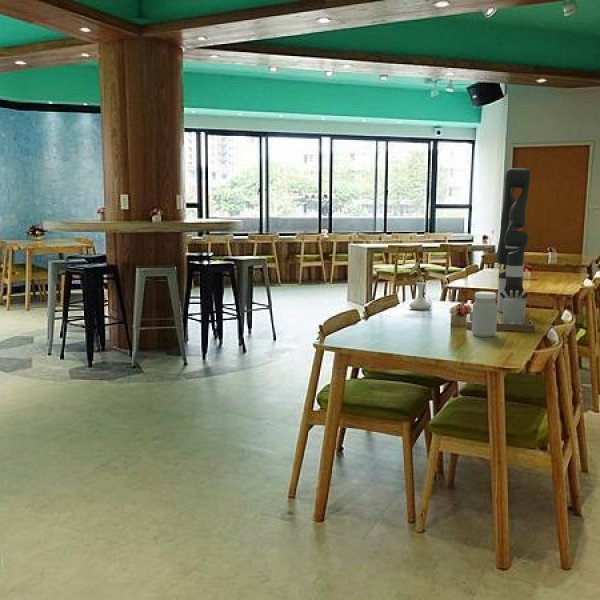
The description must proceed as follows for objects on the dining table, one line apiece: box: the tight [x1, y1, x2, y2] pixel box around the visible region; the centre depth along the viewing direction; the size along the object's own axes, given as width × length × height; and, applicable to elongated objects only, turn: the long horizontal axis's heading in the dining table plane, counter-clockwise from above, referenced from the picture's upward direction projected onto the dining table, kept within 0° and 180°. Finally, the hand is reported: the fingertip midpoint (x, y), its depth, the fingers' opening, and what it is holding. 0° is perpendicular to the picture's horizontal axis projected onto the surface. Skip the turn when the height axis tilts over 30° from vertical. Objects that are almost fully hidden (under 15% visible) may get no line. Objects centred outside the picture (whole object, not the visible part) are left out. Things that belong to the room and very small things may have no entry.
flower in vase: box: [408, 261, 432, 311], centre depth 336 cm, size 13×11×25 cm
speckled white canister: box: [502, 297, 527, 324], centre depth 292 cm, size 10×10×12 cm
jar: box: [471, 291, 498, 338], centre depth 271 cm, size 10×10×18 cm
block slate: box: [469, 309, 473, 321], centre depth 309 cm, size 4×4×4 cm
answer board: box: [465, 317, 535, 332], centre depth 287 cm, size 12×28×3 cm, turn 78°
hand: (512, 312), depth 298 cm, fingers closed
